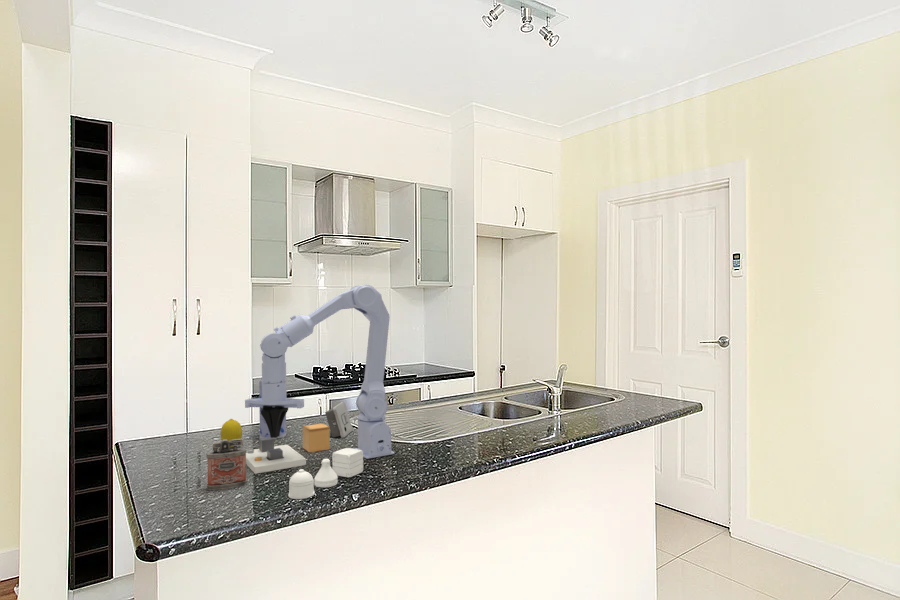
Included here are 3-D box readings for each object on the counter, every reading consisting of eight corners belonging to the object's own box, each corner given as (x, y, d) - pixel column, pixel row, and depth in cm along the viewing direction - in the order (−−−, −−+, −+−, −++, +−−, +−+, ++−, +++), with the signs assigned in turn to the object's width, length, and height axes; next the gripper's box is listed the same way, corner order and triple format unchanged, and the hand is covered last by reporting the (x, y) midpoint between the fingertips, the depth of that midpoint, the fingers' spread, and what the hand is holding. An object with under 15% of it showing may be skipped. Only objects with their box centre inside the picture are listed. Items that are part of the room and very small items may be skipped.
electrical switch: (344, 438, 157) (341, 406, 157) (327, 440, 157) (323, 408, 157) (353, 431, 166) (350, 401, 166) (336, 432, 167) (333, 402, 167)
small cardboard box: (329, 449, 146) (329, 426, 146) (309, 452, 142) (309, 429, 142) (322, 444, 150) (322, 423, 150) (302, 447, 147) (302, 425, 147)
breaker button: (282, 462, 133) (282, 450, 133) (270, 465, 131) (270, 452, 131) (279, 460, 135) (279, 448, 135) (267, 462, 133) (267, 449, 133)
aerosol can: (253, 438, 158) (252, 370, 158) (269, 432, 166) (269, 366, 166) (276, 440, 156) (275, 370, 156) (292, 433, 163) (291, 367, 163)
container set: (346, 470, 128) (345, 447, 128) (363, 473, 126) (363, 449, 126) (282, 497, 110) (282, 470, 111) (301, 501, 108) (301, 474, 108)
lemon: (216, 449, 146) (215, 420, 146) (230, 444, 151) (230, 416, 151) (232, 451, 144) (232, 421, 144) (246, 446, 149) (246, 417, 150)
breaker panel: (306, 464, 132) (305, 446, 132) (255, 473, 125) (254, 454, 125) (287, 450, 145) (286, 433, 145) (240, 457, 139) (240, 439, 139)
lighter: (206, 491, 114) (206, 443, 114) (206, 486, 117) (206, 440, 117) (247, 485, 117) (246, 439, 117) (246, 480, 120) (246, 436, 120)
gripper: (308, 379, 136) (309, 433, 136) (254, 379, 138) (255, 432, 138) (297, 383, 129) (297, 440, 129) (240, 383, 131) (241, 439, 131)
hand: (275, 436), depth 133 cm, fingers closed
